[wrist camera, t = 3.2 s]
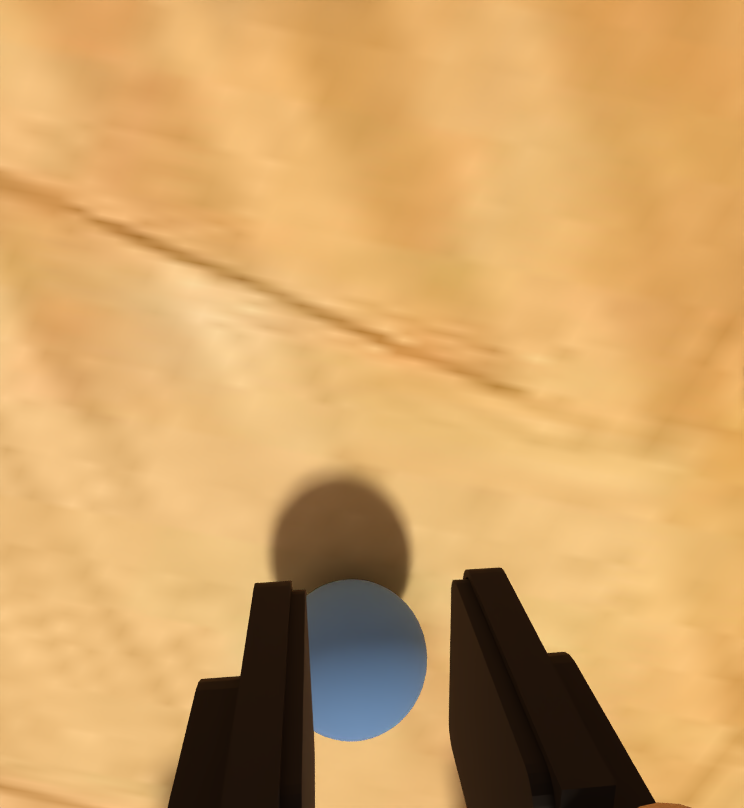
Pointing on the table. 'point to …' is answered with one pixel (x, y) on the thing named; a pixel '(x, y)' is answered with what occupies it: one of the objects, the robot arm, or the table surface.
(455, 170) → the table surface
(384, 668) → the ball
